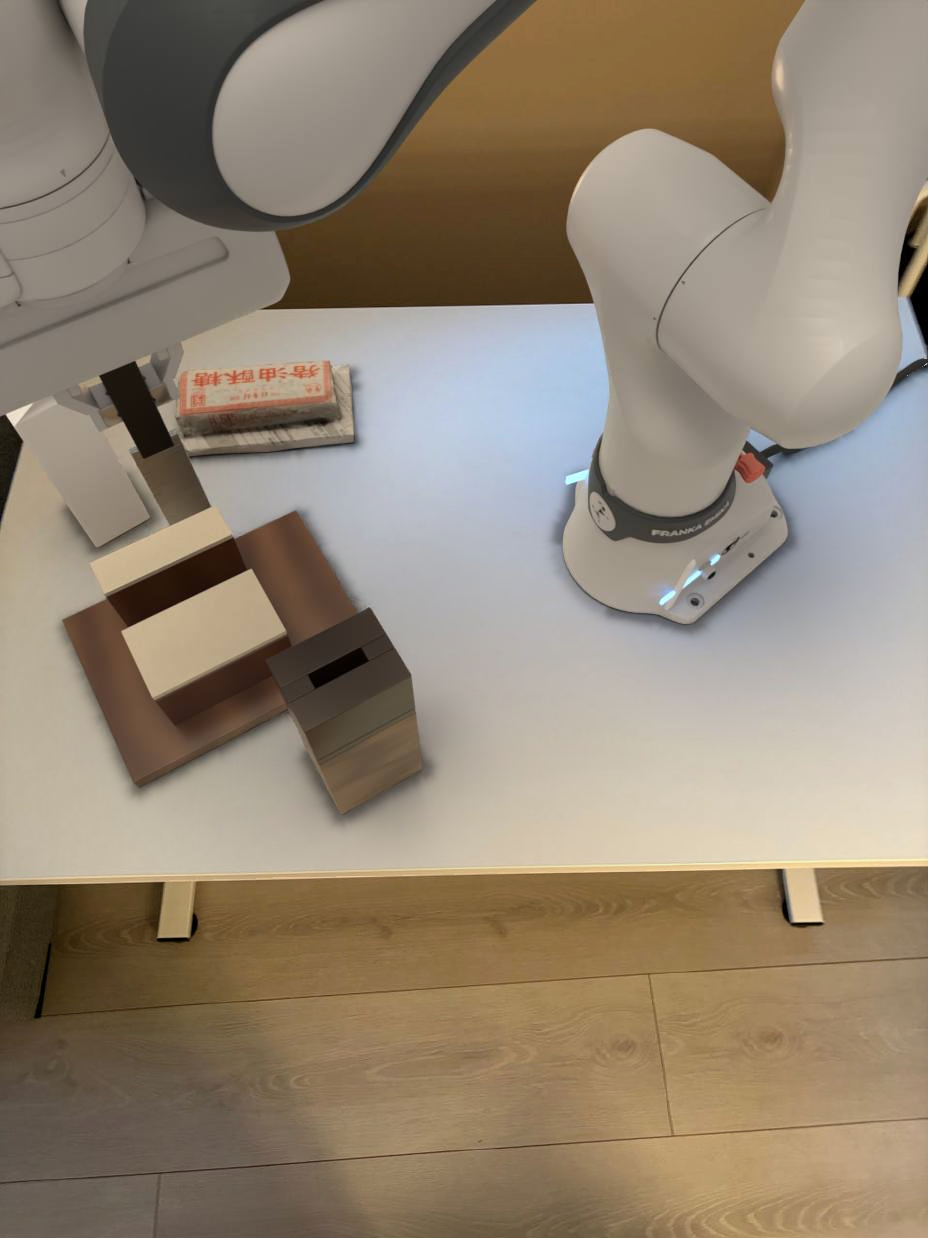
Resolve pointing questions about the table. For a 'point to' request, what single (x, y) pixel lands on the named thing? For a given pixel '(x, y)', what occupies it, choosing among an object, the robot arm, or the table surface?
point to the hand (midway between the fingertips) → (135, 407)
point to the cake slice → (169, 566)
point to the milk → (81, 468)
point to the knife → (155, 446)
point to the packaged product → (264, 407)
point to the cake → (207, 646)
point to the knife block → (352, 708)
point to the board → (159, 746)
